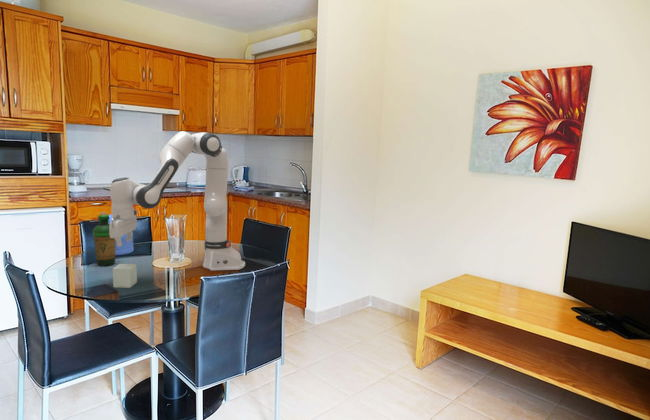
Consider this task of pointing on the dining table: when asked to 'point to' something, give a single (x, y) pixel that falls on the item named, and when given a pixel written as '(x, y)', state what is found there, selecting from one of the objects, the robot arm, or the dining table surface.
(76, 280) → the dining table surface
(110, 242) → the bottle
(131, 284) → the beige rounded cube
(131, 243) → the water jug
